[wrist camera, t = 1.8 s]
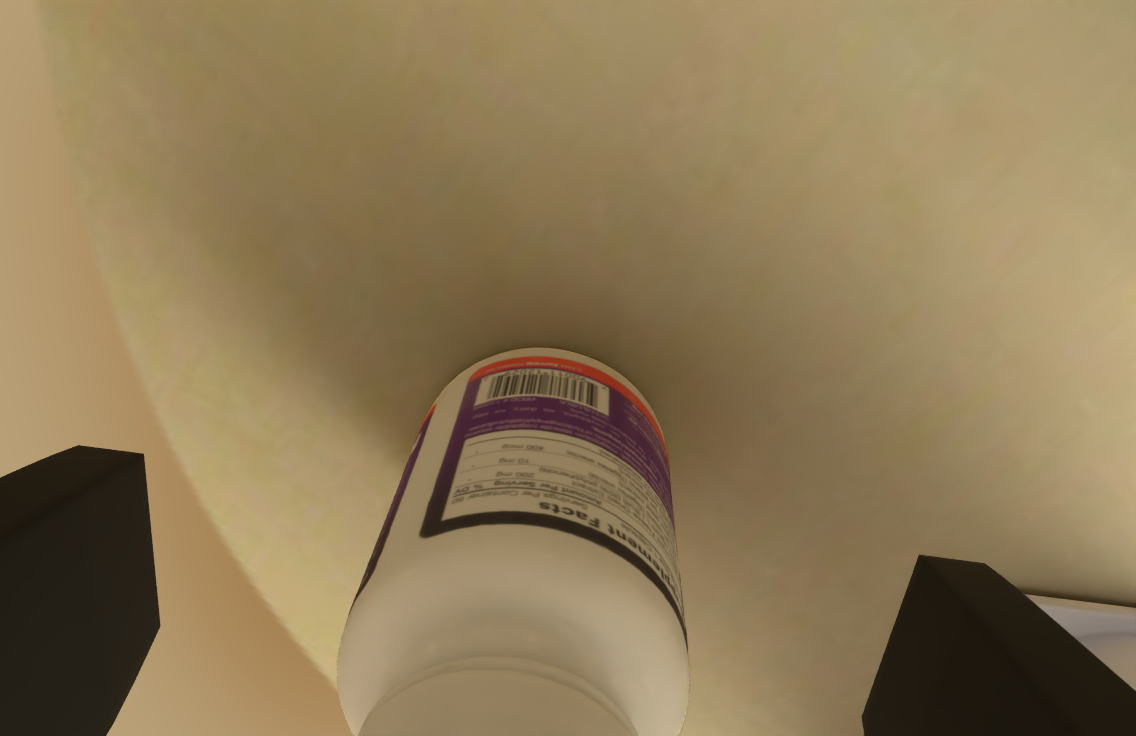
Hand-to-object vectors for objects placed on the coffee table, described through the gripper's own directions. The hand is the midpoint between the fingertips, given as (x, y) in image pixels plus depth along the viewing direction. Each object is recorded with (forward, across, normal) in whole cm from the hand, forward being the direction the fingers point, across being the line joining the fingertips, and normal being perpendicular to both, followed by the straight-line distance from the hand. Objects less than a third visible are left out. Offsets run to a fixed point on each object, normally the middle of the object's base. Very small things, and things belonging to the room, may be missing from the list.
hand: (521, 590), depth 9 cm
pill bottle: (+11, 0, +5) cm, 12 cm away
